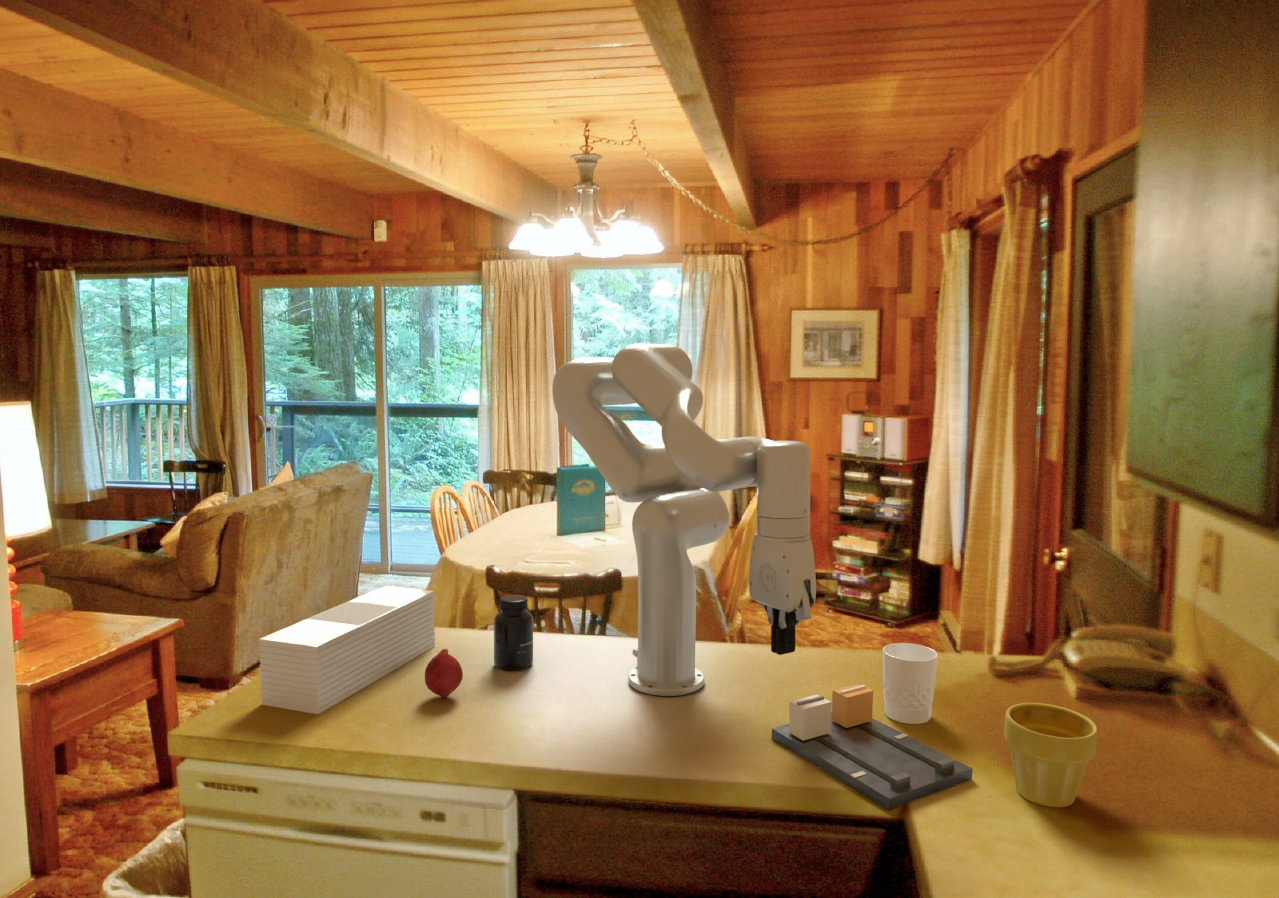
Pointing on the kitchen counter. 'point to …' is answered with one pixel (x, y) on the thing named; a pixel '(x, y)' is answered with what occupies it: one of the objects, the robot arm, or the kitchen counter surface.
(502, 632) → the supplement bottle
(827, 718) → the fader
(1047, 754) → the plant pot
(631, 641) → the kitchen counter surface
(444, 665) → the onion
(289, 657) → the stack of papers
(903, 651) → the white cup
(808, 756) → the console board
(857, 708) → the block
